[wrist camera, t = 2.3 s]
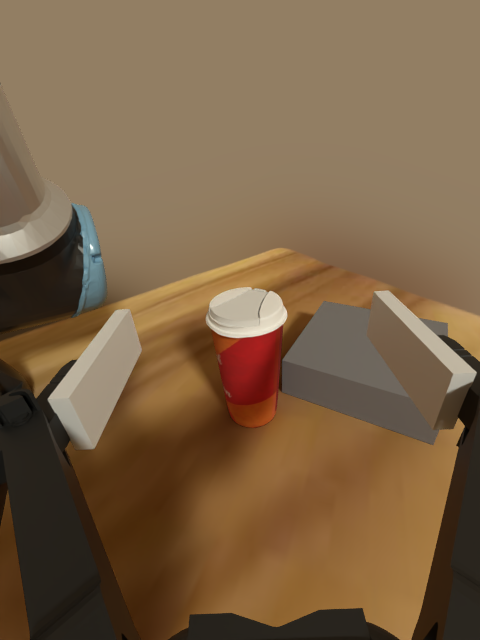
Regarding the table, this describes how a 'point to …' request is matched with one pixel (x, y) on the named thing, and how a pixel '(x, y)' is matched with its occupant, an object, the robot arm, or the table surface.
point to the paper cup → (248, 351)
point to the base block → (352, 372)
